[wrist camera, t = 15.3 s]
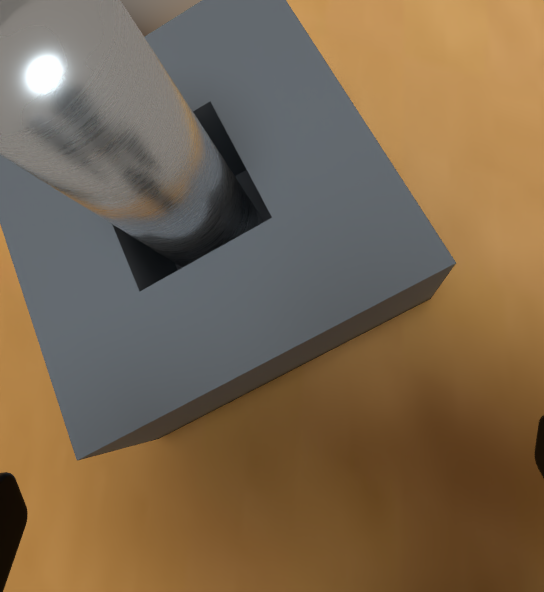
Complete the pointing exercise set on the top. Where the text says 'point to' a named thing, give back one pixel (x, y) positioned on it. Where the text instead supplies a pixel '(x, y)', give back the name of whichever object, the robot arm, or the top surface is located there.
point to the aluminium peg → (113, 127)
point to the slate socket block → (231, 256)
